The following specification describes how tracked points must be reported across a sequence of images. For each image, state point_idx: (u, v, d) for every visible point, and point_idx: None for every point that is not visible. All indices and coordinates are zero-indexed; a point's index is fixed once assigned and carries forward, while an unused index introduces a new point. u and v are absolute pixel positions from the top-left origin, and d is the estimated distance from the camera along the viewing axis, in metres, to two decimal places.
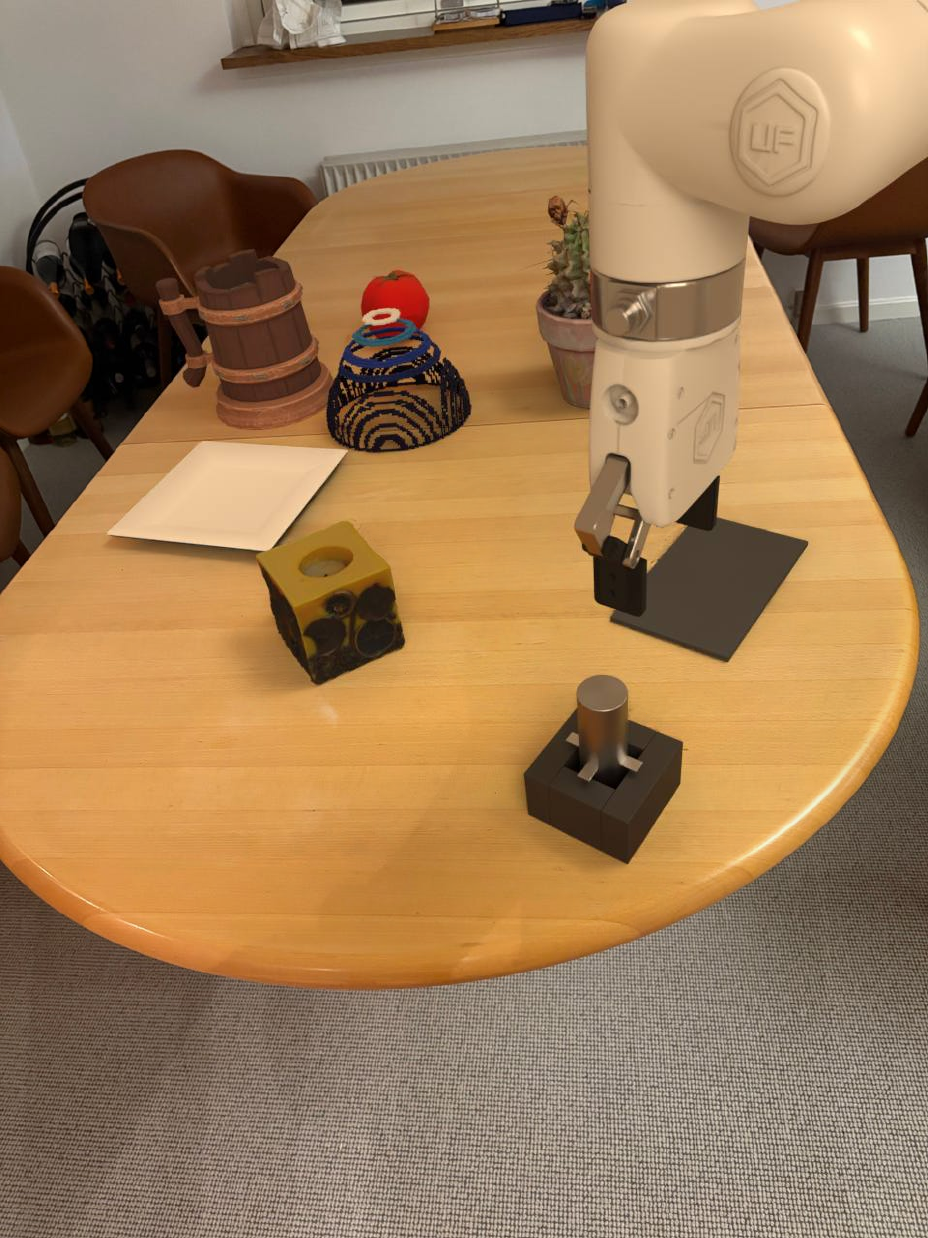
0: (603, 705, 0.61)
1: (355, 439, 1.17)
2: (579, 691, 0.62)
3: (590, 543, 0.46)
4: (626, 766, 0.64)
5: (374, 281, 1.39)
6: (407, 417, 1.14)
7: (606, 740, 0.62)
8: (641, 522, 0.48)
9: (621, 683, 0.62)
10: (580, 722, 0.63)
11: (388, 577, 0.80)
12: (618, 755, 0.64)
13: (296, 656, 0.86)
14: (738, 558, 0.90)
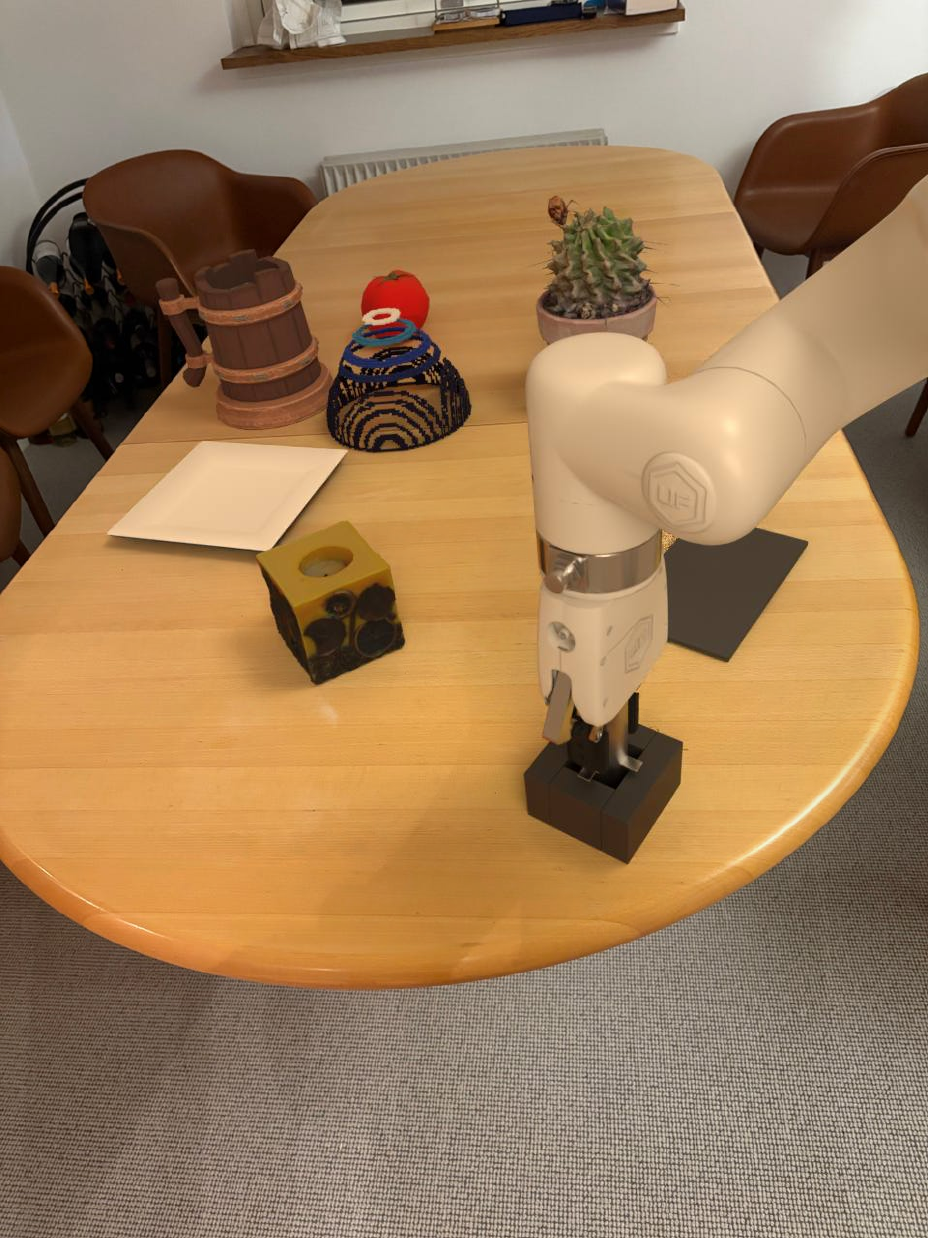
0: None
1: (355, 439, 1.17)
2: None
3: None
4: (626, 766, 0.64)
5: (374, 281, 1.39)
6: (407, 417, 1.14)
7: None
8: None
9: None
10: None
11: (388, 577, 0.80)
12: (618, 755, 0.64)
13: (296, 656, 0.86)
14: (738, 558, 0.90)
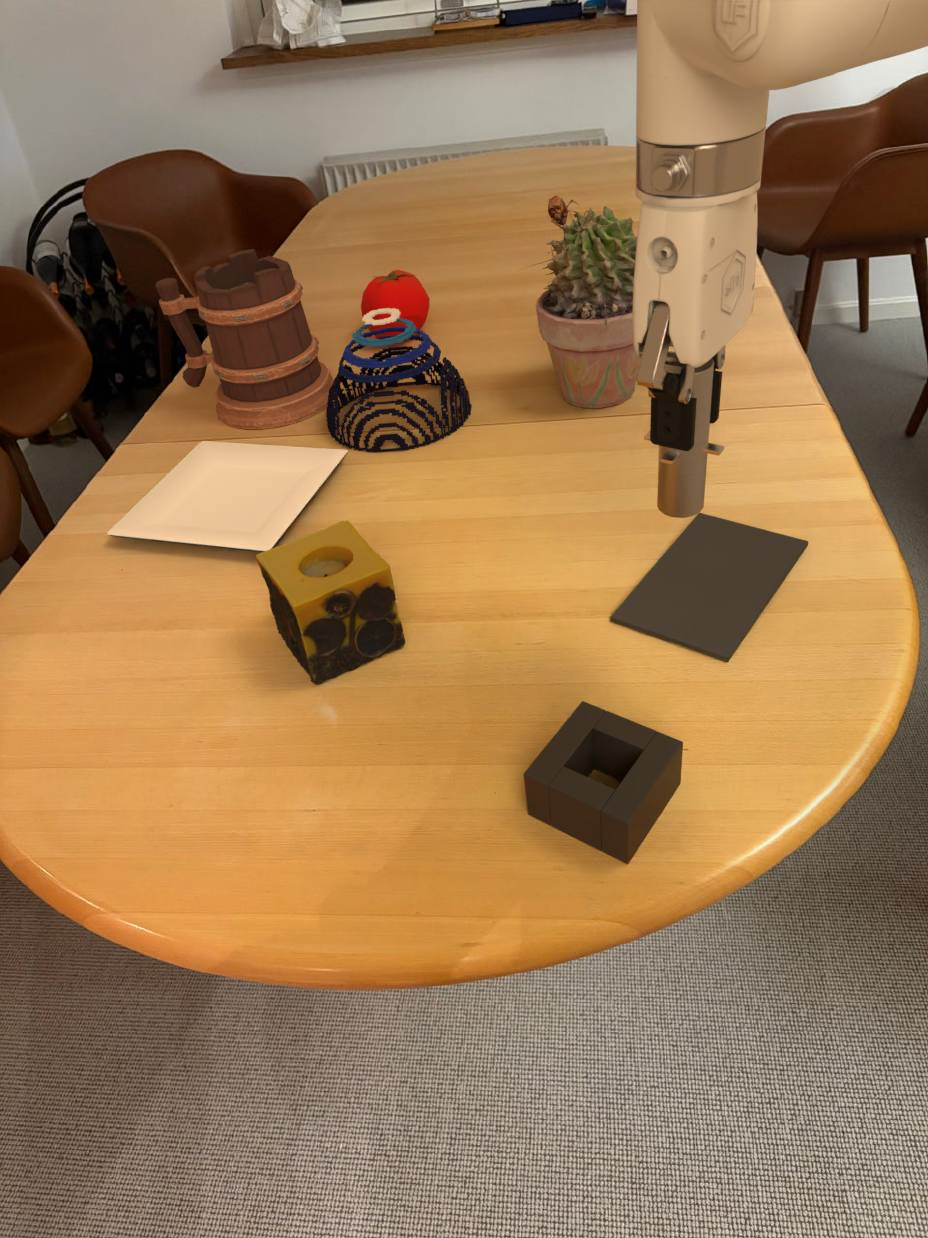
0: None
1: (355, 439, 1.17)
2: None
3: (652, 387, 0.58)
4: (708, 449, 0.65)
5: (374, 281, 1.39)
6: (407, 417, 1.14)
7: None
8: (686, 369, 0.59)
9: None
10: None
11: (388, 577, 0.80)
12: (701, 435, 0.64)
13: (296, 656, 0.86)
14: (738, 558, 0.90)
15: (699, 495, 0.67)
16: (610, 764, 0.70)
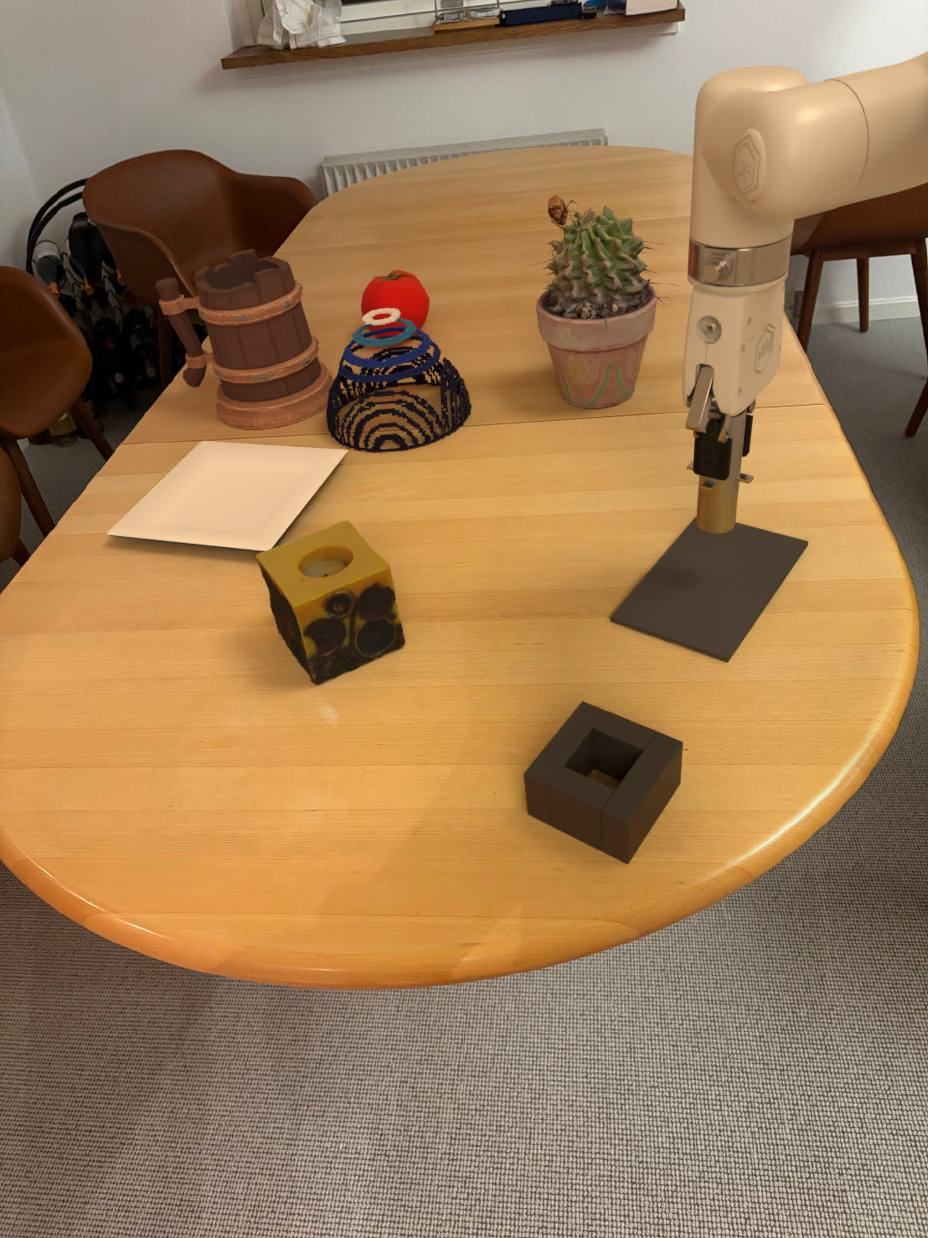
0: None
1: (355, 439, 1.17)
2: None
3: (698, 431, 0.72)
4: (740, 478, 0.79)
5: (374, 281, 1.39)
6: (407, 417, 1.14)
7: None
8: (725, 416, 0.73)
9: None
10: None
11: (388, 577, 0.80)
12: (735, 467, 0.78)
13: (296, 656, 0.86)
14: (738, 558, 0.90)
15: (732, 515, 0.81)
16: (610, 764, 0.70)
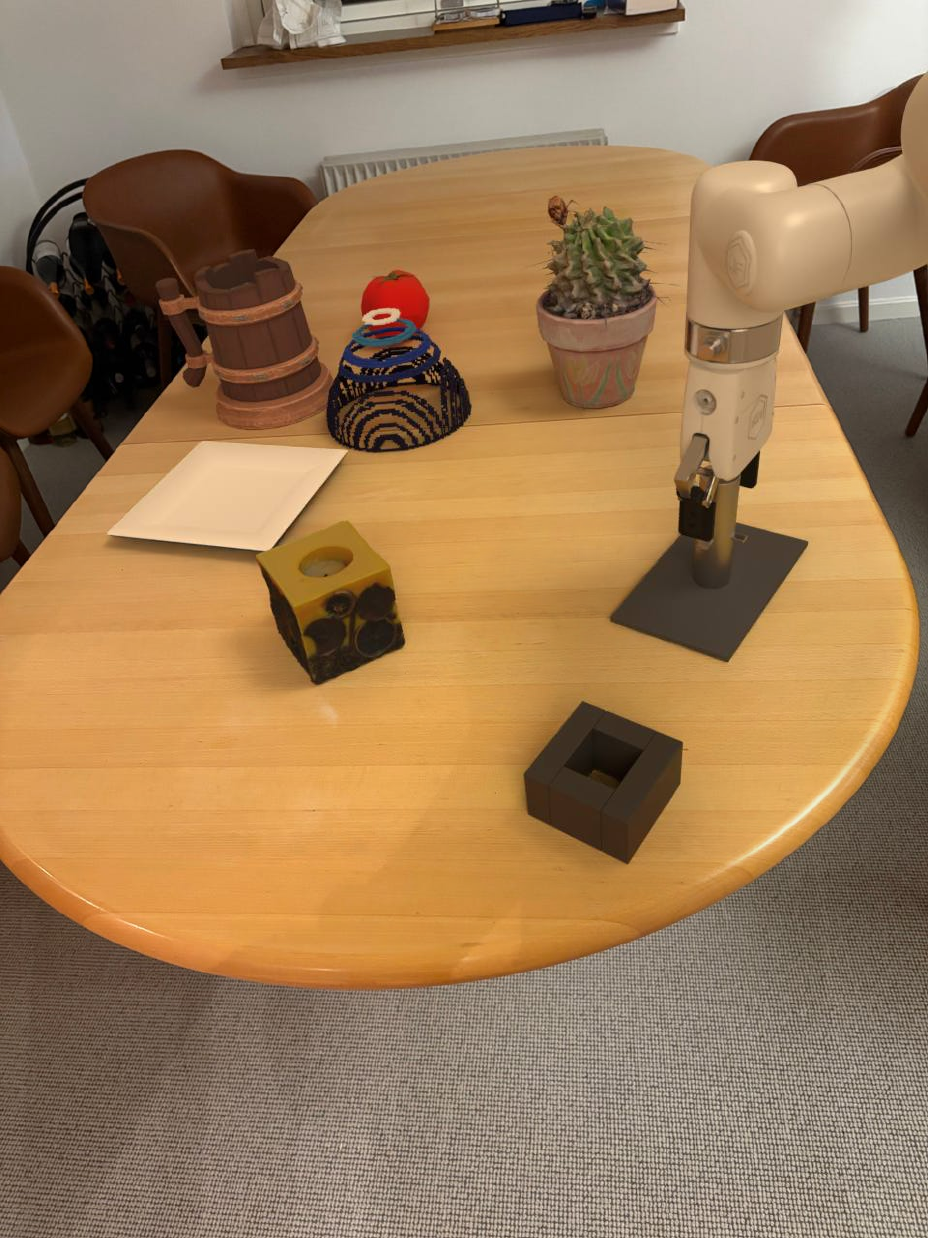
0: (722, 481, 0.79)
1: (355, 439, 1.17)
2: None
3: (683, 490, 0.74)
4: (735, 538, 0.83)
5: (374, 281, 1.39)
6: (407, 417, 1.14)
7: (722, 512, 0.81)
8: (714, 477, 0.75)
9: None
10: None
11: (388, 577, 0.80)
12: (729, 528, 0.82)
13: (296, 656, 0.86)
14: (738, 558, 0.90)
15: (727, 571, 0.86)
16: (610, 764, 0.70)
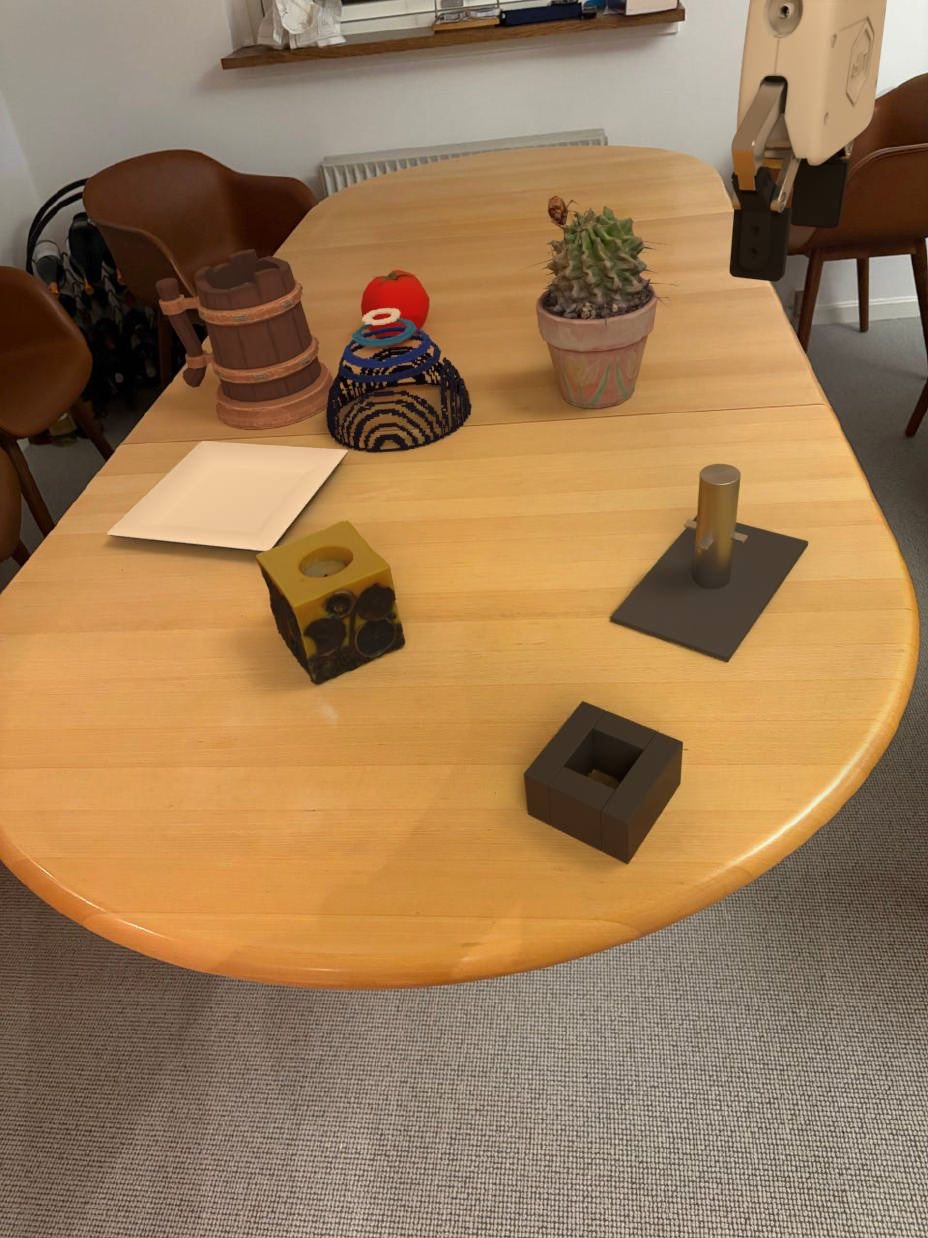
0: (722, 481, 0.79)
1: (355, 439, 1.17)
2: (701, 473, 0.80)
3: (744, 169, 0.47)
4: (735, 538, 0.83)
5: (374, 281, 1.39)
6: (407, 417, 1.14)
7: (722, 512, 0.81)
8: (791, 159, 0.48)
9: (734, 467, 0.81)
10: (701, 499, 0.81)
11: (388, 577, 0.80)
12: (729, 528, 0.82)
13: (296, 656, 0.86)
14: (738, 558, 0.90)
15: (727, 571, 0.86)
16: (610, 764, 0.70)
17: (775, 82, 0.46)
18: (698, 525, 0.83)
